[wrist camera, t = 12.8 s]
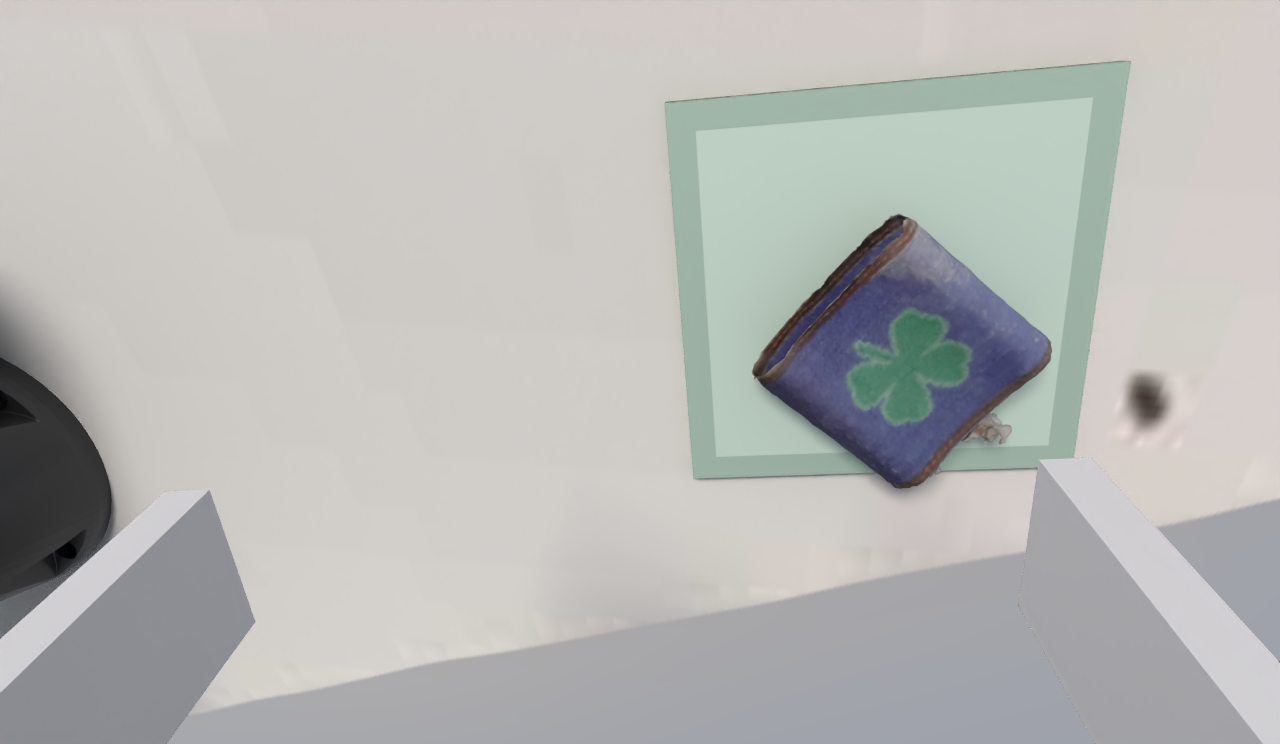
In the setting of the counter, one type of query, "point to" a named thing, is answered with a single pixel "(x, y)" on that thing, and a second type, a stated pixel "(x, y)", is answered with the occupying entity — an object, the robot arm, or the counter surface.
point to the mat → (859, 204)
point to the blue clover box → (902, 355)
